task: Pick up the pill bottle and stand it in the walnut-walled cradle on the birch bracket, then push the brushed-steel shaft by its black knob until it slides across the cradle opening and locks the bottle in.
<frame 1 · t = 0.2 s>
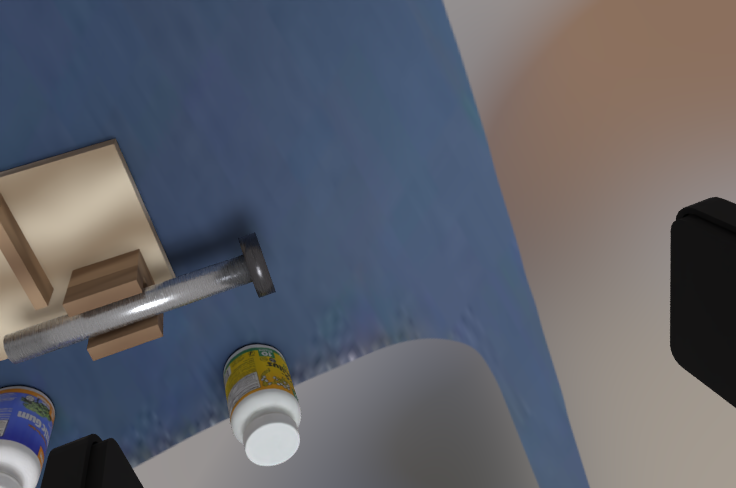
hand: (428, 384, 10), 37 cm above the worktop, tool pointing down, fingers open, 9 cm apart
pill bottle: (17, 410, 47), on the worktop
shaft bracket: (6, 316, 44), on the worktop
supplement bottle: (254, 367, 52), on the worktop
steel shaft: (143, 304, 41), point 6 cm above the worktop, slide at 0.0 cm
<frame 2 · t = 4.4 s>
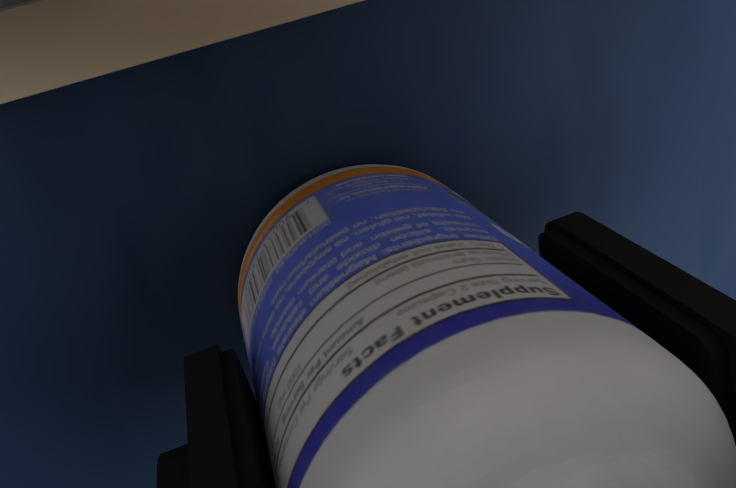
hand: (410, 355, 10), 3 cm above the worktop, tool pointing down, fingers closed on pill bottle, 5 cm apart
pill bottle: (357, 274, 13), on the worktop, touching gripper
when the fingers open (6 cm above the worktop, at t = 9.9 s): pill bottle drops 1 cm, resting on shaft bracket.
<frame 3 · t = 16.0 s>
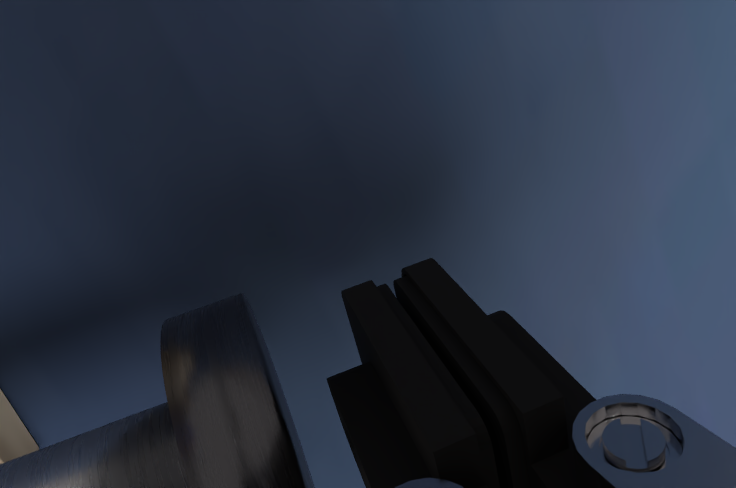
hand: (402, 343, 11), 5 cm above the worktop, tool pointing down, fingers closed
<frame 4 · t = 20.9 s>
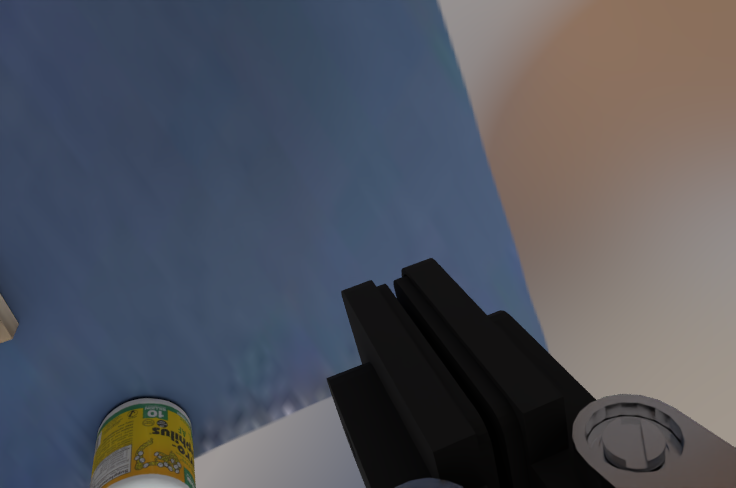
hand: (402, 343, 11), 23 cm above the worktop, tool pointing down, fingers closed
supplement bottle: (146, 428, 37), on the worktop
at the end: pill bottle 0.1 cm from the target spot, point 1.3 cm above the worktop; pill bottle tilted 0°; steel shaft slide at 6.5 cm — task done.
